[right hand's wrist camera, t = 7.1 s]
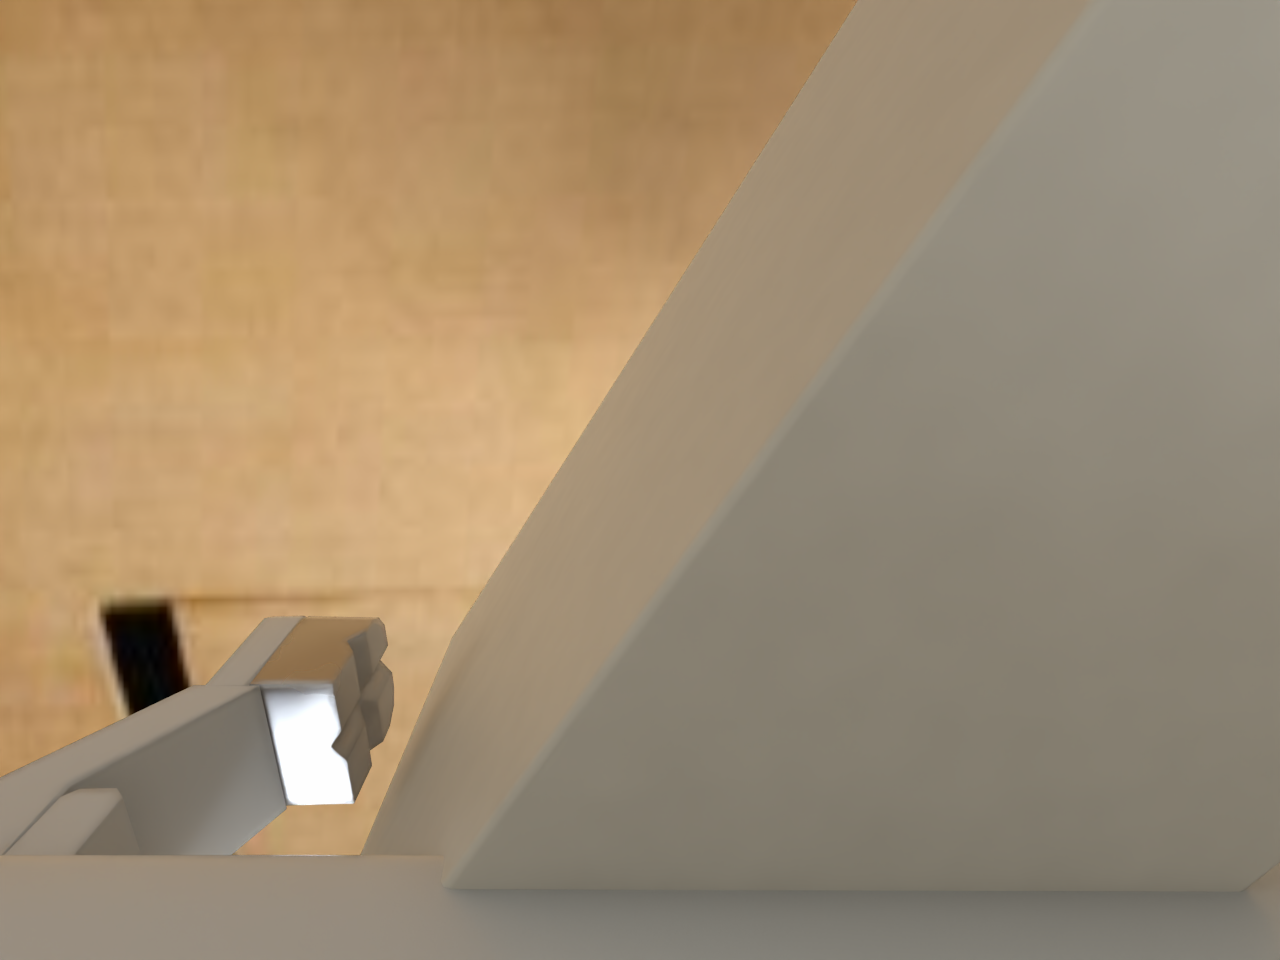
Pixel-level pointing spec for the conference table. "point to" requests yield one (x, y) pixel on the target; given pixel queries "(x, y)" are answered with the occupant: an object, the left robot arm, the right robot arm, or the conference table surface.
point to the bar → (916, 499)
